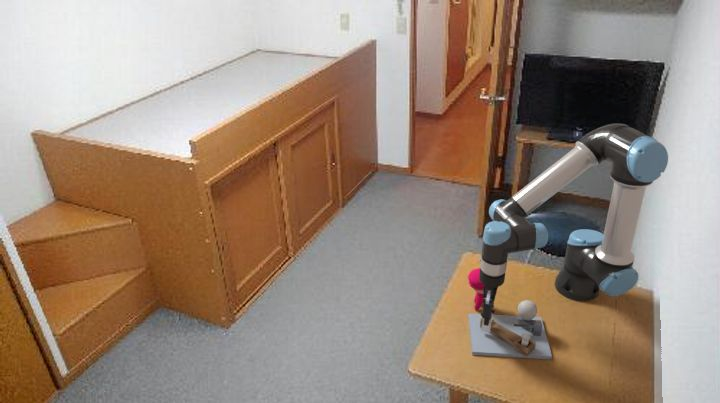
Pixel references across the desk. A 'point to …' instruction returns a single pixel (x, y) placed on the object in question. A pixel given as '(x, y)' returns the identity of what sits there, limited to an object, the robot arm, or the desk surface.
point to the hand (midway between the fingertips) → (485, 330)
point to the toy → (476, 287)
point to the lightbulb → (527, 310)
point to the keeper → (530, 325)
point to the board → (497, 347)
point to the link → (510, 338)
